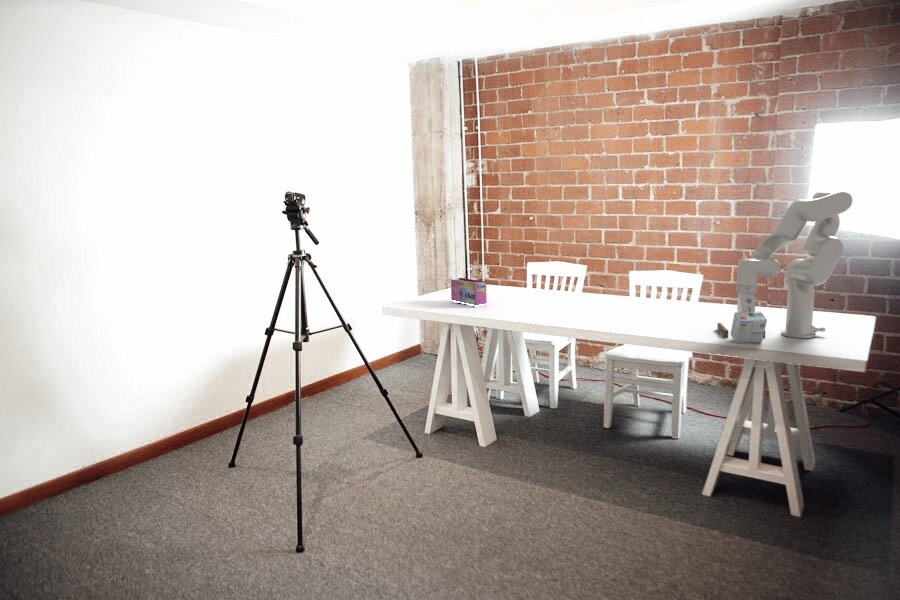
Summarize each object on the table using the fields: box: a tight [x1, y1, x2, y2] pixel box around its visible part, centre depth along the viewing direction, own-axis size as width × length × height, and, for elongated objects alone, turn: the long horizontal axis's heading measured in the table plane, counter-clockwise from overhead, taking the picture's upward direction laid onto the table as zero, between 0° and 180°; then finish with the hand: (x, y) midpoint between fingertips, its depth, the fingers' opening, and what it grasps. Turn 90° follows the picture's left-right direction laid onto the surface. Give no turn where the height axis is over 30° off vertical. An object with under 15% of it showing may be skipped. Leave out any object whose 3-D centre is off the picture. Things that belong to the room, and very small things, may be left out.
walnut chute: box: [716, 322, 766, 339], centre depth 270 cm, size 15×15×3 cm
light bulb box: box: [730, 311, 768, 344], centre depth 255 cm, size 11×7×11 cm, turn 88°
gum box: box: [450, 277, 488, 305], centre depth 357 cm, size 24×8×14 cm, turn 37°
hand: (743, 333), depth 262 cm, fingers closed
